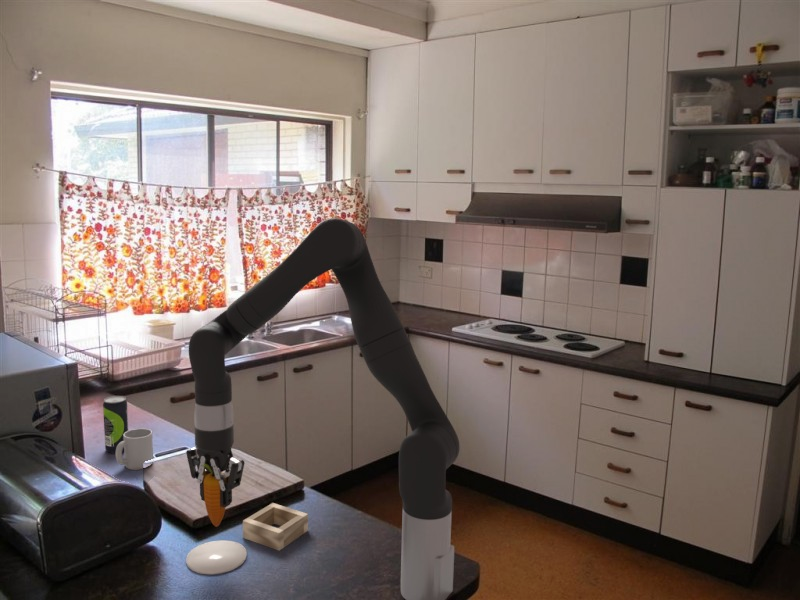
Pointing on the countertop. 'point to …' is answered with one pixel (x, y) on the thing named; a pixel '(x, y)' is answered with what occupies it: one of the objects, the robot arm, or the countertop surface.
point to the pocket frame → (276, 538)
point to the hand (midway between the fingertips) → (215, 502)
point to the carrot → (213, 497)
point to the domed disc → (216, 557)
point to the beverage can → (115, 421)
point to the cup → (135, 448)
